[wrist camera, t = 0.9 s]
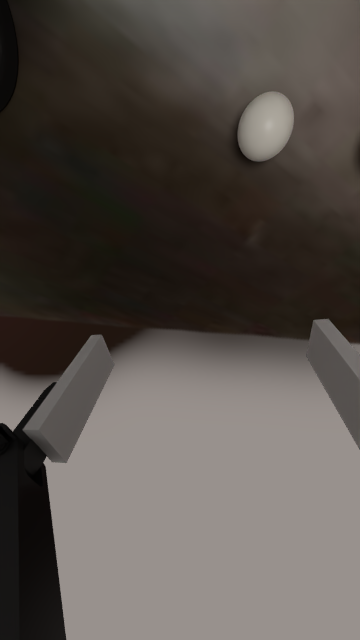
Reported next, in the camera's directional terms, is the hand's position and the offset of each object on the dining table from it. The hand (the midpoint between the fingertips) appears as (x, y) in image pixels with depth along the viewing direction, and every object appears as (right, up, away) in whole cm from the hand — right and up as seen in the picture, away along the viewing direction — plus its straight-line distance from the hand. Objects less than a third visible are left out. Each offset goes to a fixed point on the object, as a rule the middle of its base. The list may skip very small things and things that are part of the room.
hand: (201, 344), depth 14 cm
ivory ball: (+7, +22, +9) cm, 25 cm away
